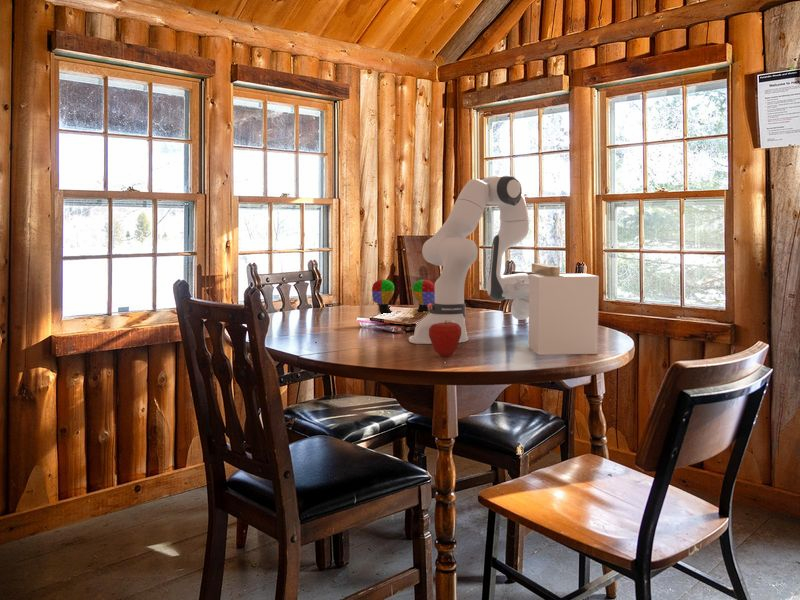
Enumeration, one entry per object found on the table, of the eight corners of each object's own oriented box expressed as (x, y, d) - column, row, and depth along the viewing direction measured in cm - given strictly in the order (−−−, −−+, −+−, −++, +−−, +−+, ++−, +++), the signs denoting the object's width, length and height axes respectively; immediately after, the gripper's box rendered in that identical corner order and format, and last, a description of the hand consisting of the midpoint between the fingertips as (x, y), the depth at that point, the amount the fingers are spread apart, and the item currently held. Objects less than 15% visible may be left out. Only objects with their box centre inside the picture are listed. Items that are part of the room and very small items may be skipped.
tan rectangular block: (549, 276, 226) (549, 267, 226) (531, 271, 250) (531, 263, 250) (559, 276, 226) (559, 267, 226) (541, 271, 250) (541, 263, 250)
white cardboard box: (538, 354, 229) (539, 276, 226) (528, 347, 243) (529, 273, 240) (597, 353, 230) (599, 275, 227) (584, 346, 243) (585, 272, 241)
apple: (445, 351, 236) (445, 316, 235) (468, 355, 228) (468, 319, 227) (422, 355, 229) (421, 319, 227) (444, 360, 221) (444, 323, 219)
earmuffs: (437, 323, 305) (436, 279, 302) (433, 326, 296) (433, 280, 294) (375, 322, 311) (374, 278, 308) (370, 325, 302) (369, 280, 300)
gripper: (500, 289, 266) (506, 274, 253) (552, 289, 267) (561, 273, 254) (501, 304, 263) (507, 289, 251) (554, 303, 264) (563, 288, 251)
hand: (535, 281), depth 252 cm, fingers open, 8 cm apart
